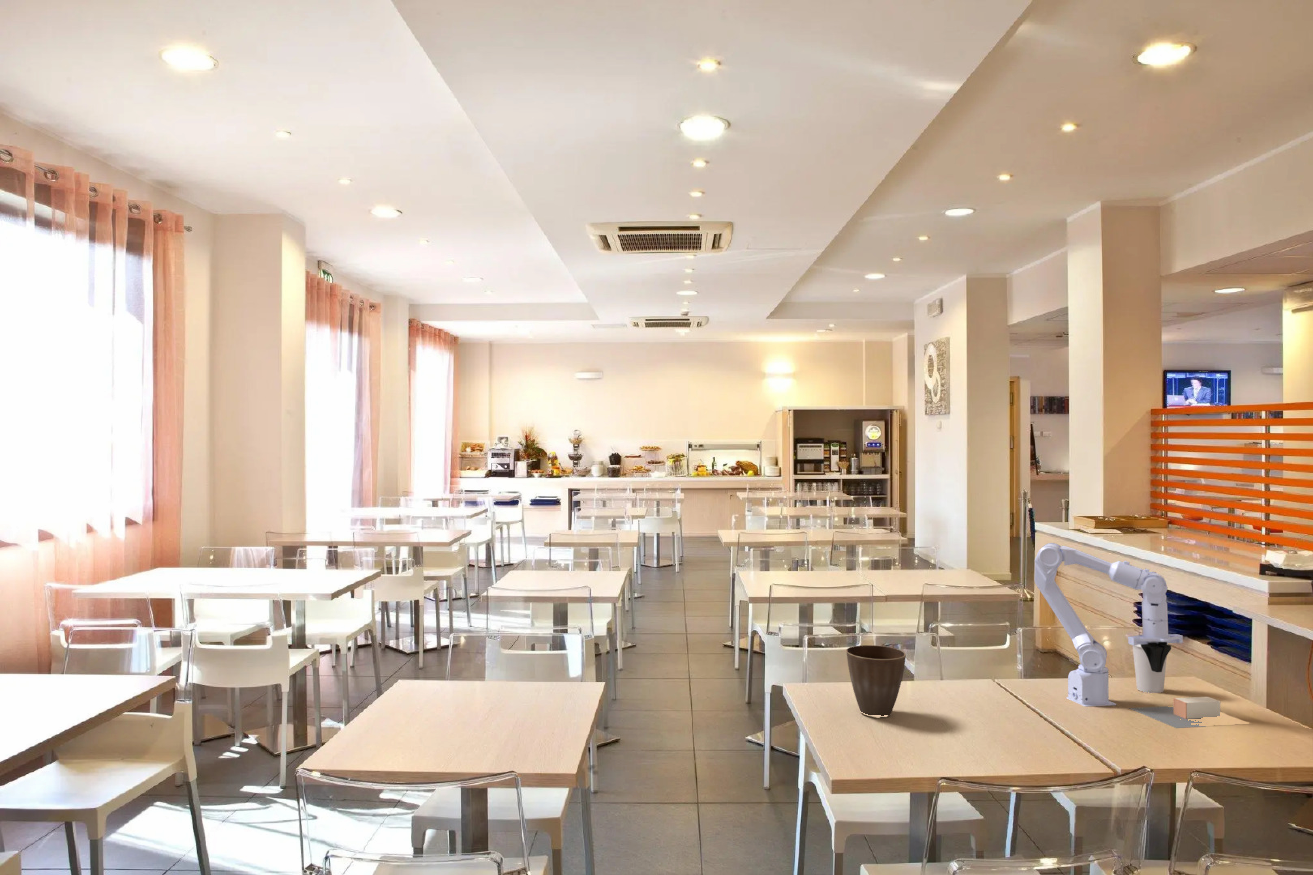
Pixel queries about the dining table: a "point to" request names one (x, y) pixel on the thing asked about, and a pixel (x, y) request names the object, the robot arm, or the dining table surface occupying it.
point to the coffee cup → (1147, 673)
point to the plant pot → (876, 677)
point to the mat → (1167, 716)
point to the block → (1196, 707)
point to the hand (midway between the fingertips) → (1156, 671)
